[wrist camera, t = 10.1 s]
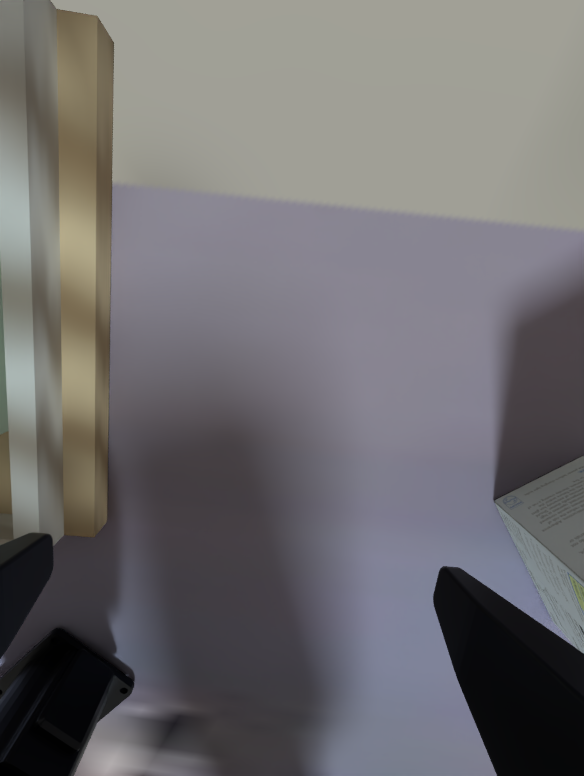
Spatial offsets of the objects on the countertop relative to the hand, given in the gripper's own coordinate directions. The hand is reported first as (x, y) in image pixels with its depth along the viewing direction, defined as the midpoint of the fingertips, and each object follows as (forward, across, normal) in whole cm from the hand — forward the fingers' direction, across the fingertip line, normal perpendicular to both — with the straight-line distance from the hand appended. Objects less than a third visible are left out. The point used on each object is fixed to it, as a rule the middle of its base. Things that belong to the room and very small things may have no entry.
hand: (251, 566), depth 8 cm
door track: (+12, +13, -5) cm, 18 cm away
